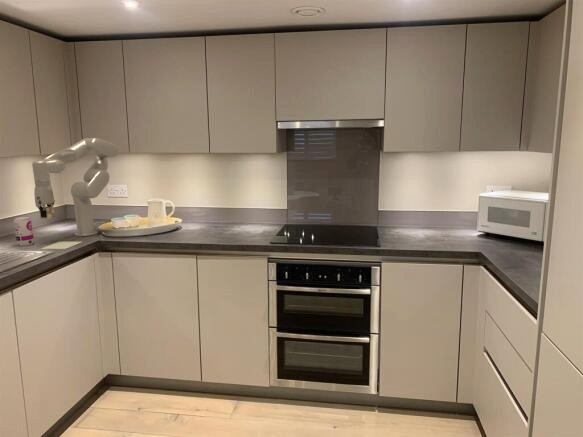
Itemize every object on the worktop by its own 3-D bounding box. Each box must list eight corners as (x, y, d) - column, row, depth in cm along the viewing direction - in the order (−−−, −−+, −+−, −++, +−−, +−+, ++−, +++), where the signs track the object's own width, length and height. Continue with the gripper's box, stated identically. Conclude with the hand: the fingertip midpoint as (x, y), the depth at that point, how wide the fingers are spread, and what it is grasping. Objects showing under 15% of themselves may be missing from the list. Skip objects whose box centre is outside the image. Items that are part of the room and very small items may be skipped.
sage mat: (59, 242, 251) (59, 241, 251) (82, 242, 249) (82, 241, 249) (40, 249, 235) (40, 248, 235) (65, 249, 233) (64, 248, 233)
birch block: (46, 217, 250) (44, 206, 248) (54, 217, 249) (53, 206, 248) (40, 218, 245) (38, 208, 244) (48, 218, 244) (47, 207, 243)
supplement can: (37, 242, 251) (33, 216, 248) (29, 246, 243) (25, 219, 240) (22, 243, 251) (18, 216, 248) (14, 246, 243) (10, 219, 240)
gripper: (46, 182, 252) (51, 213, 255) (25, 185, 235) (30, 219, 239) (59, 181, 251) (63, 213, 254) (38, 185, 234) (43, 219, 238)
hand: (47, 216), depth 247 cm, fingers closed on birch block, 5 cm apart
